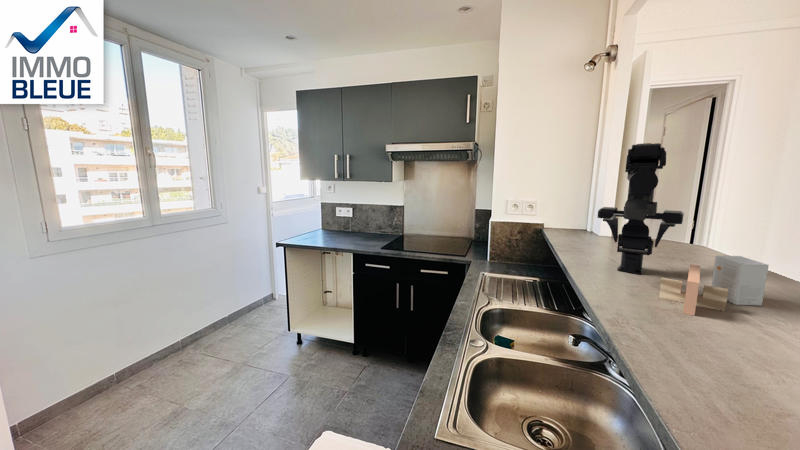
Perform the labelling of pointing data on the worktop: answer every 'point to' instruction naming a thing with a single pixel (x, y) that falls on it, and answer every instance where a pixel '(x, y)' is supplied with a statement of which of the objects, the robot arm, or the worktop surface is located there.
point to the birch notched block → (709, 299)
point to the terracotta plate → (692, 290)
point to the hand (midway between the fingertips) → (635, 244)
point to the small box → (740, 279)
